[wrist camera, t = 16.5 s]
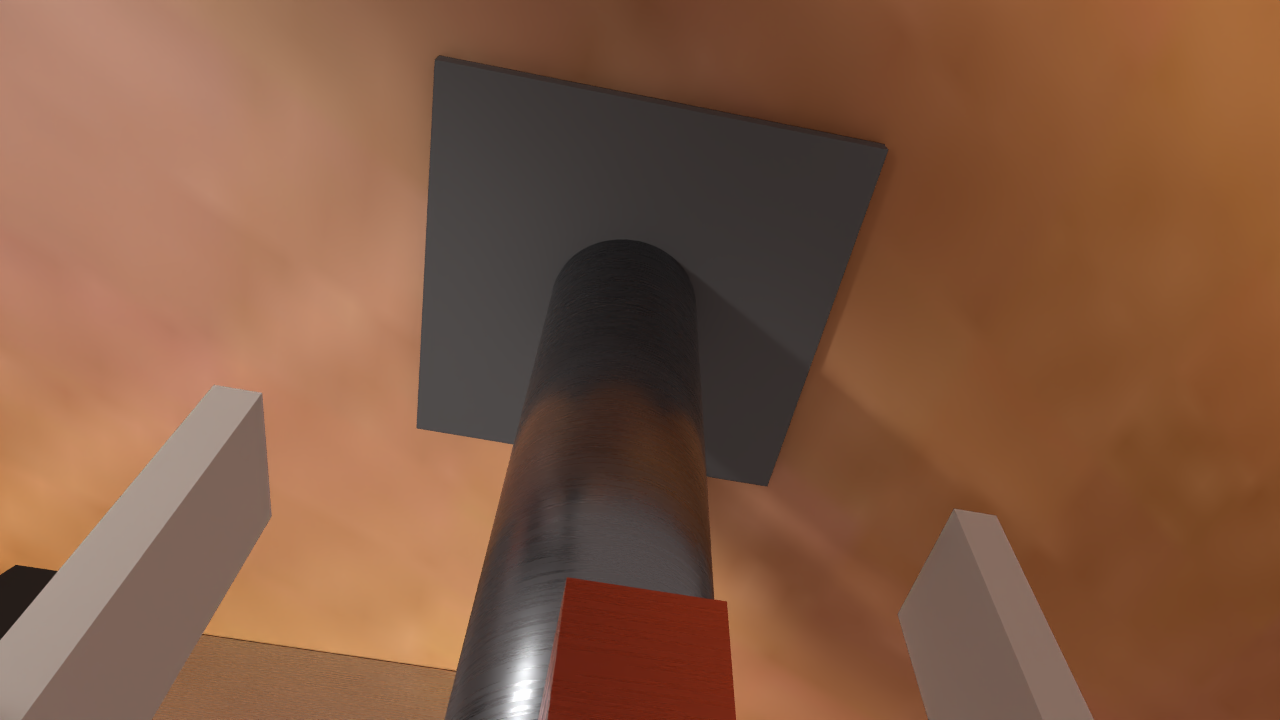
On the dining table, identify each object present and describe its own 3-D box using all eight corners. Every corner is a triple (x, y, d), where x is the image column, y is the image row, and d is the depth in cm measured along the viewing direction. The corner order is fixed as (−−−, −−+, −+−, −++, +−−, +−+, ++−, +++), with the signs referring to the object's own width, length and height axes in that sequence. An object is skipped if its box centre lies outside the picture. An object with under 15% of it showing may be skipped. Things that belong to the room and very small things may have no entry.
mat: (420, 419, 23) (416, 428, 23) (439, 55, 18) (435, 59, 17) (765, 477, 24) (766, 486, 23) (884, 144, 18) (888, 149, 18)
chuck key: (578, 113, 18) (390, 706, 6) (739, 145, 18) (884, 774, 6) (530, 434, 23) (374, 1123, 11) (658, 455, 23) (649, 1151, 11)
